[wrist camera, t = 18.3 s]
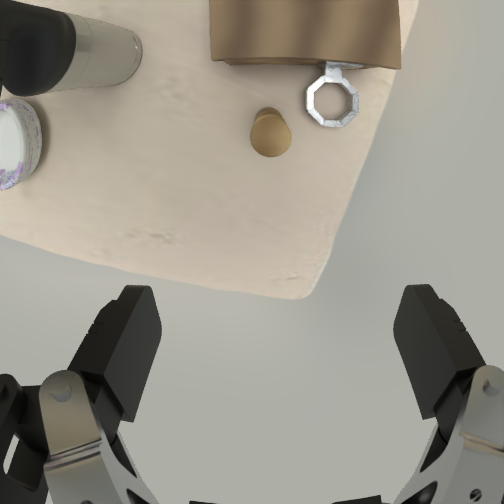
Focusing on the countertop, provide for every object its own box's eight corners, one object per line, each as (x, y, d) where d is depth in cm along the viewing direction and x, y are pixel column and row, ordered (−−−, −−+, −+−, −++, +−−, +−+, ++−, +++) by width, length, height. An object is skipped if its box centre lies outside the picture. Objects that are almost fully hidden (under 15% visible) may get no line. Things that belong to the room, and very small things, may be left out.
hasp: (305, 123, 37) (314, 132, 30) (304, 62, 33) (314, 56, 26) (353, 126, 37) (372, 135, 30) (354, 66, 33) (374, 62, 26)
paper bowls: (33, 78, 35) (2, 83, 28) (65, 148, 42) (37, 161, 35) (-10, 127, 39) (-38, 138, 32) (19, 189, 45) (-6, 206, 39)
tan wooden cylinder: (256, 132, 41) (250, 157, 27) (255, 107, 39) (249, 118, 25) (282, 132, 40) (291, 157, 27) (281, 107, 39) (291, 117, 25)
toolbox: (227, 68, 36) (209, 58, 24) (224, -24, 28) (206, -65, 16) (364, 72, 35) (405, 68, 23) (360, -18, 28) (395, -52, 15)
